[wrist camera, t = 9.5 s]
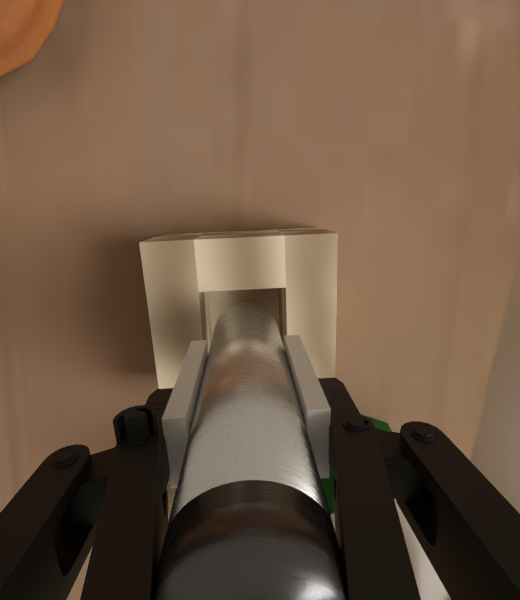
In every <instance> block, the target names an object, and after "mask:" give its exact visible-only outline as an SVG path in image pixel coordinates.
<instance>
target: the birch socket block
mask: <svg viewBox="0 0 520 600" xmlns="http://www.w3.org/2000/svg"><path fill="white" fill-rule="evenodd" d="M139 246H140V253H141V260H142V268H143V275H144V283H145V290H146V298H147V305H148V312H149V320H150V327H151V335H152V342H153V350H154V357H155V364H156V372H157V379H158V387H159V389H166V388H174V386H175V383H176V380H177V378H178V375H179V372H180V370H181V367H182V365H183V362H184V359H185V357H186V354H187V352H188V349H189V346H190V344H191V341H197V340H207V349H208V354H209V350H210V346H211V341H212V337H213V333H214V329H215V325H216V322H217V320H218V318H219V316H220V315H221V314H222V313H223V312H224V311H225V310H226V309H227V308H229V307H231V306H233V305H235V304H239V303H254V304H258V305H260V306H262V307H264V308H265V309H267V310H268V311H269V312H270V313H271V314H272V315H273V317H274V318H275V320H276V323H277V326H278V329H279V333H280V336H281V340H282V344H283V347H284V351H285V345H284V336H287V335H299V336H300V338H301V340H302V343H303V345H304V348H305V350H306V352H307V355H308V357H309V359H310V362H311V364H312V366H313V369H314V371H315V373H316V376H317V378H334V377H335V356H336V302H337V247H338V233H336V232H332V231H329V230H325V229H322V228H318V227H312V228H290V229H268V230H247V231H225V232H203V233H181V234H162V235H159V236H156V237H153V238H150V239H147V240H144V241H141V242H139Z"/></svg>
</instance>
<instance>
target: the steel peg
mask: <svg viewBox="0 0 520 600" xmlns="http://www.w3.org/2000/svg"><path fill="white" fill-rule="evenodd" d="M152 600H348V592H347V584H346V576H345V569H344V563H343V558H342V554H341V551H340V547H339V543H338V540H337V536H336V533H335V529H334V526H333V522H332V519H331V515H330V511H329V508H328V504H327V501H326V497H325V494H324V490H323V486H322V483H321V479H320V476H319V472H318V469H317V465H316V461H315V458H314V454H313V451H312V447H311V444H310V440H309V436H308V433H307V429H306V426H305V422H304V419H303V415H302V411H301V408H300V404H299V401H298V397H297V394H296V390H295V386H294V383H293V379H292V376H291V372H290V369H289V365H288V361H287V358H286V354H285V351H284V347H283V344H282V340H281V336H280V333H279V329H278V326H277V323H276V320H275V318H274V317H273V315H272V314H271V313H270V312H269V311H268V310H267V309H265V308H264V307H262V306H260V305H258V304H254V303H239V304H235V305H233V306H231V307H229V308H227V309H226V310H225V311H224V312H223V313H222V314H221V315H220V316H219V318H218V320H217V322H216V325H215V329H214V333H213V337H212V341H211V346H210V350H209V354H208V358H207V362H206V367H205V371H204V375H203V379H202V383H201V388H200V392H199V396H198V400H197V404H196V409H195V413H194V417H193V421H192V426H191V430H190V434H189V438H188V442H187V447H186V451H185V455H184V459H183V463H182V468H181V472H180V476H179V480H178V485H177V489H176V493H175V497H174V501H173V506H172V510H171V514H170V518H169V522H168V527H167V531H166V535H165V539H164V543H163V548H162V552H161V556H160V560H159V565H158V569H157V573H156V578H155V583H154V590H153V597H152Z"/></svg>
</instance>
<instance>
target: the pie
mask: <svg viewBox="0 0 520 600" xmlns="http://www.w3.org/2000/svg"><path fill="white" fill-rule="evenodd" d="M63 2H64V0H0V77H2V76H4V75H6V74H8V73H9V72H11V71H13V70H15V69H17V68H19V67H21V66H22V65H24V64H26V63H28V62H30V61H32V60H33V58H34V57H35V56H36V54H37V53H38V51H39V50H40V48H41V47H42V45H43V44H44V42H45V41H46V40H47V38H48V37H49V35H50V34H51V32H52V31H53V29H54V27H55V24H56V22H57V19H58V16H59V13H60V10H61V8H62V5H63Z"/></svg>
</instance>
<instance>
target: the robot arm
mask: <svg viewBox="0 0 520 600" xmlns="http://www.w3.org/2000/svg"><path fill="white" fill-rule="evenodd" d="M284 345H285V354H286V358H287V361H288V365H289V369H290V372H291V376H292V379H293V383H294V386H295V390H296V394H297V397H298V401H299V404H300V408H301V411H302V415H303V419H304V422H305V426H306V429H307V433H308V436H309V440H310V444H311V447H312V451H313V454H314V458H315V461H316V465H317V469H318V472H319V476H320V478H329V477H330V468H331V471H332V474H333V498H332V506H334V516H335V532H336V536H337V540H338V543H339V547H340V551H341V554H342V558H343V563H344V569H345V576H346V584H347V592H348V600H421V598H420V594H419V590H418V587H417V583H416V579H415V575H414V572H413V568H412V564H411V560H410V557H409V553H408V549H407V545H406V542H405V538H404V534H403V530H402V526H401V523H400V519H399V515H398V511H397V508H396V504H395V500H394V499H396V502H397V504H398V506H399V508H400V509H401V511H402V513H403V515H404V517H405V518H406V520H407V522H408V524H409V525H410V527H411V529H412V531H413V533H414V534H415V536H416V538H417V540H418V541H419V543H420V545H421V547H422V548H423V550H424V552H425V554H426V556H427V557H428V559H429V561H430V563H431V564H432V566H433V568H434V570H435V572H436V573H437V575H438V577H439V579H440V580H441V582H442V584H443V586H444V588H445V589H446V591H447V593H448V595H449V596H450V598H451V600H520V514H519V513H518V512H517V511H516V509H515V508H514V507H513V506H512V505H511V504H510V503H509V502H508V501H507V500H506V499H505V498H504V497H503V496H502V495H501V494H500V492H499V491H497V489H496V488H495V487H494V486H493V485H492V484H491V483H490V482H489V481H488V480H487V479H486V478H485V477H484V476H483V475H482V473H481V472H480V471H479V470H478V469H477V468H476V467H475V466H474V465H473V464H472V463H471V462H470V461H469V460H468V458H467V457H466V456H465V455H464V454H463V453H462V452H461V451H460V450H459V449H458V448H457V447H456V446H455V445H454V444H453V443H452V441H451V440H450V439H449V438H448V437H447V436H446V435H445V434H444V433H443V432H442V431H441V430H439V429H438V428H437V427H435V426H432V425H430V424H428V423H423V422H413V421H412V422H408V423H405V424H404V425H402V426H401V430H400V433H396V432H390V431H384V430H380V429H377V428H375V426H374V424H373V422H372V421H371V420H370V419H369V418H367V417H365V416H363V415H360V413H359V411H358V409H357V408H356V406H355V404H354V402H353V400H352V399H351V397H350V395H349V393H348V391H347V390H346V388H345V386H344V384H343V383H342V382H341V381H339V380H338V379H336V378H335V377H334V378H317V376H316V373H315V371H314V369H313V366H312V364H311V362H310V359H309V357H308V355H307V352H306V350H305V348H304V345H303V343H302V340H301V338H300V336H299V335H287V336H284ZM207 358H208V349H207V340H197V341H191V344H190V346H189V349H188V352H187V354H186V357H185V359H184V362H183V365H182V367H181V370H180V372H179V375H178V378H177V380H176V383H175V386H174V388H166V389H157V390H156V391H155V392H153V393H152V394H151V395H150V396H149V398H148V400H147V402H146V405H142V406H134V407H130V408H128V409H125V410H123V411H121V412H120V413H119V414H117V415H116V416H115V418H114V420H113V425H114V430H115V436H116V441H117V444H116V447H114V448H112V449H109V450H106V451H103V452H99V453H96V454H92V455H90V451H89V448H88V447H86V446H85V445H71V446H66V447H63V448H61V449H59V450H57V451H55V452H54V453H52V454H51V455H49V456H48V457H47V458H46V459H45V460H44V461H43V462H42V464H41V465H40V466H39V467H38V468H37V470H36V471H35V472H34V473H33V474H32V476H31V477H30V478H29V479H28V480H27V482H26V483H25V484H24V485H23V486H22V488H21V489H20V490H19V491H18V492H17V494H16V495H15V496H14V497H13V498H12V500H11V501H10V502H9V503H8V504H7V506H6V507H5V508H4V509H3V510H2V512H1V513H0V600H66V599H67V597H68V595H69V593H70V591H71V589H72V587H73V585H74V583H75V581H76V579H77V576H78V574H79V572H80V570H81V568H82V566H83V564H84V562H85V560H86V558H87V556H88V554H89V552H90V550H91V548H92V552H91V556H90V560H89V565H88V569H87V573H86V577H85V582H84V586H83V590H82V595H81V599H80V600H152V597H153V590H154V583H155V578H156V573H157V569H158V565H159V560H160V556H161V552H162V548H163V543H164V539H165V535H166V531H167V527H168V495H167V484H168V480H169V478H170V485H171V489H177V485H178V480H179V476H180V472H181V468H182V463H183V459H184V455H185V451H186V447H187V442H188V438H189V434H190V430H191V426H192V421H193V417H194V413H195V409H196V404H197V400H198V396H199V392H200V388H201V383H202V379H203V375H204V371H205V367H206V362H207ZM92 546H93V547H92Z"/></svg>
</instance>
